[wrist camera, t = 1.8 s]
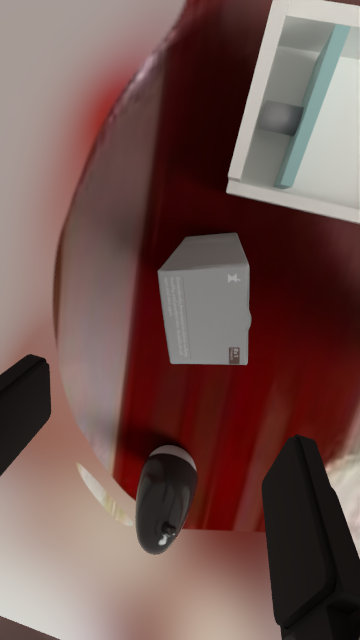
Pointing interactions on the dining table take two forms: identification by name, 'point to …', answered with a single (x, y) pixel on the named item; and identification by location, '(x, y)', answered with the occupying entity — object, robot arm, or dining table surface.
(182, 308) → the skincare box
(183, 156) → the dining table surface
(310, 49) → the open box with divider
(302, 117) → the pusher
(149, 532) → the dark grey egg shape
